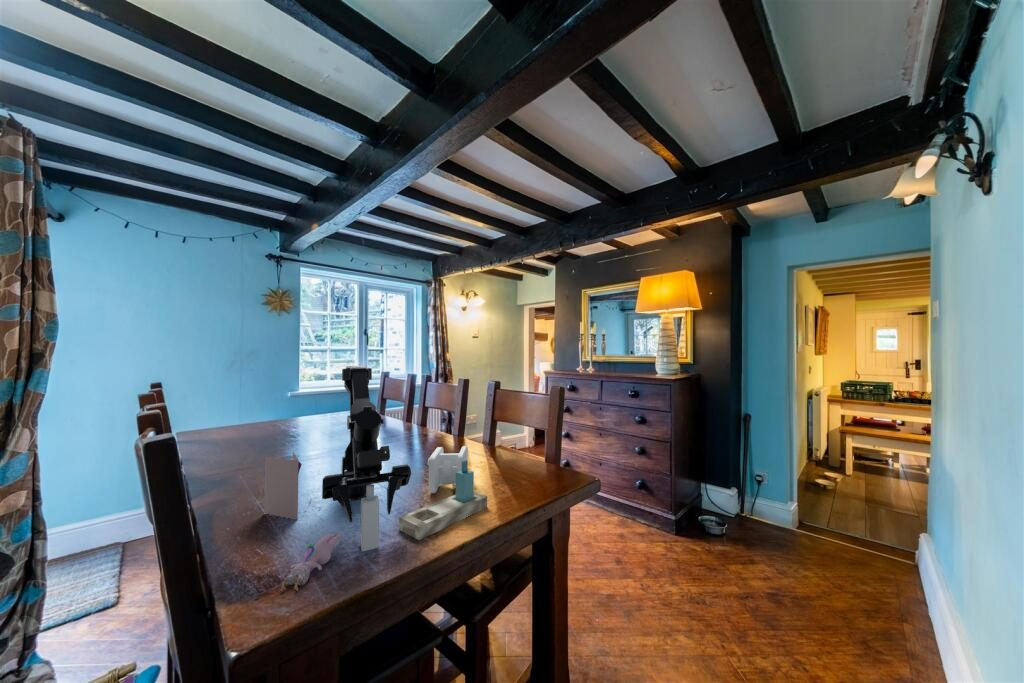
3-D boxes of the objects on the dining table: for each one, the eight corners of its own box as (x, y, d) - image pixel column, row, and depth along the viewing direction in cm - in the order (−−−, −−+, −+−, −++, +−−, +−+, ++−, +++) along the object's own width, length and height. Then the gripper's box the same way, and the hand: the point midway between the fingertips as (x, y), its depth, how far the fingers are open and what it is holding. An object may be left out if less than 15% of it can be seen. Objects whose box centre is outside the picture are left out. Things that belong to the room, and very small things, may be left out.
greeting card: (301, 519, 92) (302, 459, 92) (266, 527, 87) (267, 465, 88) (295, 504, 101) (296, 450, 102) (263, 511, 96) (264, 455, 97)
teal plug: (464, 513, 95) (464, 463, 95) (455, 510, 97) (455, 461, 97) (473, 509, 97) (473, 460, 98) (465, 505, 99) (464, 458, 100)
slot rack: (419, 540, 81) (419, 526, 81) (399, 529, 86) (399, 517, 86) (487, 507, 98) (487, 496, 98) (467, 500, 103) (467, 489, 103)
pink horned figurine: (306, 600, 63) (351, 542, 78) (303, 569, 63) (349, 517, 77) (273, 598, 64) (324, 541, 79) (269, 567, 63) (322, 515, 78)
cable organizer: (462, 496, 106) (462, 457, 106) (426, 497, 106) (426, 457, 106) (468, 479, 121) (468, 444, 121) (436, 479, 121) (436, 444, 121)
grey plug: (360, 544, 79) (361, 484, 80) (376, 540, 81) (377, 481, 81) (361, 551, 76) (362, 489, 77) (378, 547, 78) (379, 486, 78)
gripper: (323, 439, 79) (322, 509, 68) (409, 430, 87) (420, 491, 77) (322, 466, 85) (321, 533, 75) (403, 455, 94) (412, 514, 84)
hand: (370, 517), depth 78 cm, fingers open, 7 cm apart
